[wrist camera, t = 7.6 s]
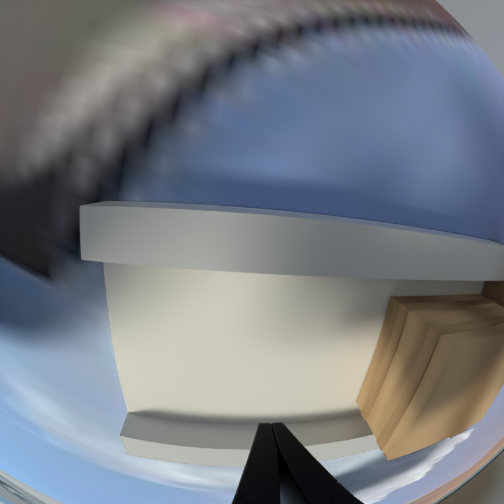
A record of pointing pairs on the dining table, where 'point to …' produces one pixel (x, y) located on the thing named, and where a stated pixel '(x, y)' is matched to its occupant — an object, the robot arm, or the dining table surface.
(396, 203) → the dining table surface
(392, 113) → the dining table surface
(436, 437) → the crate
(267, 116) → the dining table surface
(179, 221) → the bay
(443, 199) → the dining table surface
